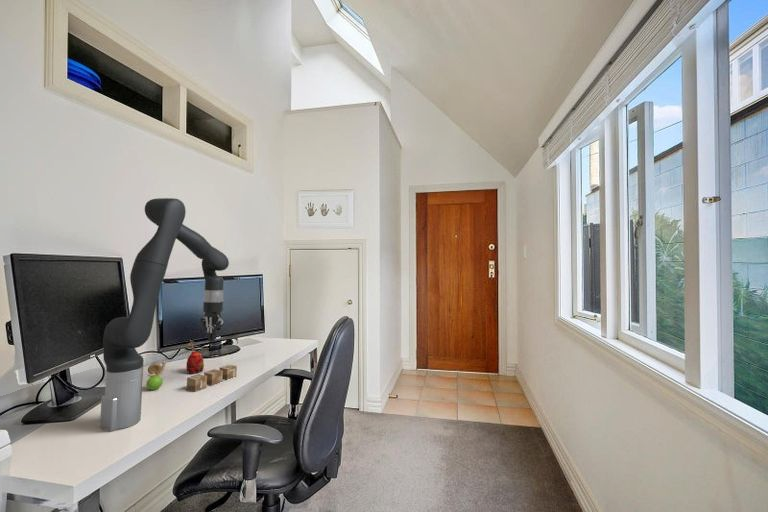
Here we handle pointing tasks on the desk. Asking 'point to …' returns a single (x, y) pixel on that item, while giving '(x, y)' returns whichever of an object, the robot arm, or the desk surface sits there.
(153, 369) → the snail figurine
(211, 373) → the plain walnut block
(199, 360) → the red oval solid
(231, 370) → the numeral 7 block
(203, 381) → the numeral 1 block
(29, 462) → the desk surface
